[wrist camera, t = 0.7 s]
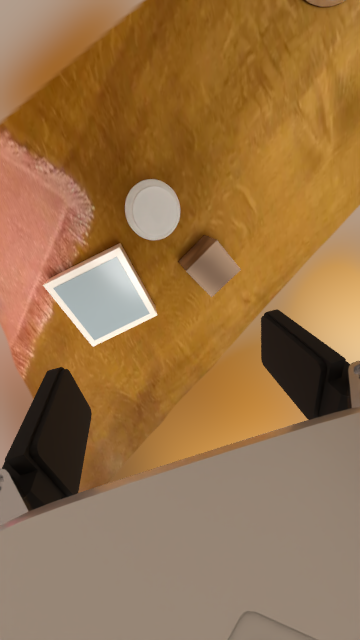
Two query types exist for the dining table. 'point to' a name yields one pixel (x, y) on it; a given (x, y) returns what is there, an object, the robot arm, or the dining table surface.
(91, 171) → the dining table surface
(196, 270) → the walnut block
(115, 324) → the base
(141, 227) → the supplement bottle
